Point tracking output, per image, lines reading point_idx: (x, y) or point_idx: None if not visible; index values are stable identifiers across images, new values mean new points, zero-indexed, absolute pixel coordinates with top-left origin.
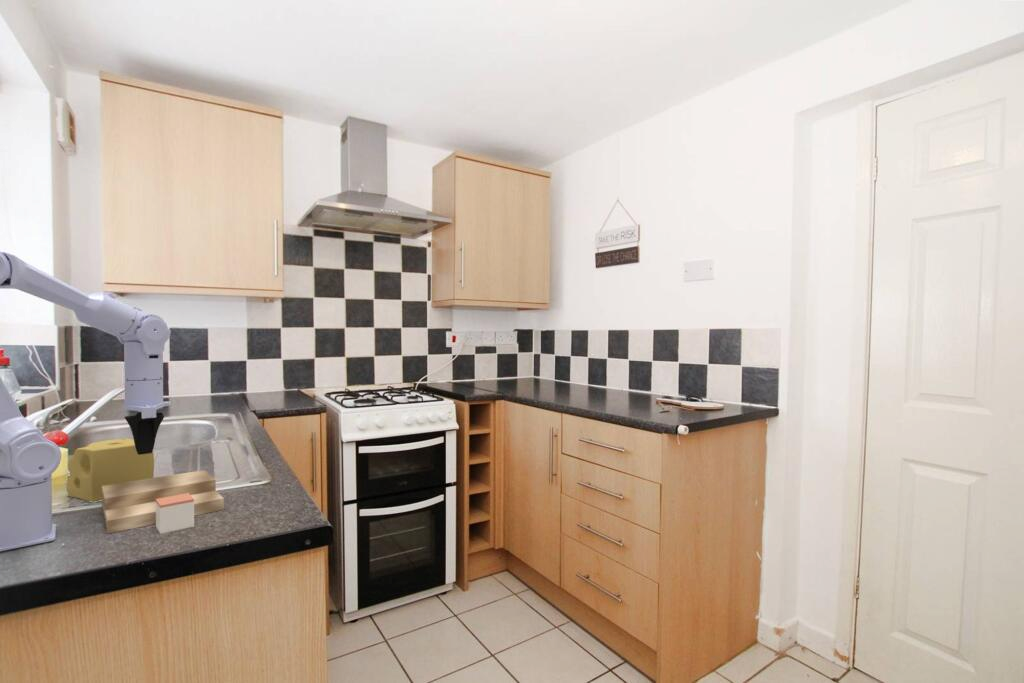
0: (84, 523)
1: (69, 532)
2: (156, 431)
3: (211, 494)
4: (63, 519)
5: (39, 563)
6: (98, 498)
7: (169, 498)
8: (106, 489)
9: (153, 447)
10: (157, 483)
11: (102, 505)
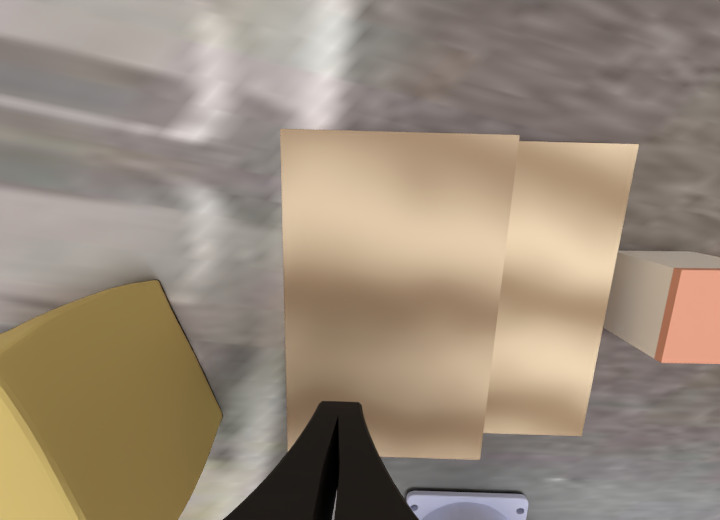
0: None
1: (474, 468)
2: (400, 497)
3: (547, 166)
4: None
5: (648, 511)
6: (215, 413)
7: (695, 329)
8: None
9: (363, 416)
10: (396, 319)
11: None
